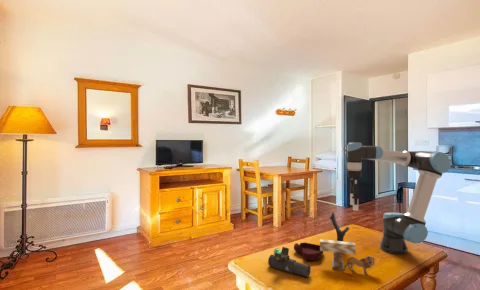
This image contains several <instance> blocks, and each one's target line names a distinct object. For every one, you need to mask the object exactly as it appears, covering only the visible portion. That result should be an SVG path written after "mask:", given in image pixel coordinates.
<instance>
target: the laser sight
mask: <svg viewBox="0 0 480 290" xmlns="http://www.w3.org/2000/svg"><path fill="white" fill-rule="evenodd" d="M289 250H290V248H289V247H284V246H282V248H281V250H280V251H281V253H280V254H279V253H274V254H270V255H269V257H268V261H267V265H268V266H269V267H272V268H273V269H276V270H279V271H283V272H286V273H289V274H296V275H299V276H302V277H304V278H305V277H306V278H309V277H310V274H311V270H312V269H311V265H308V264H305V263H302V262H298V261H297V260H295V259H292V258H290V255H289Z"/></svg>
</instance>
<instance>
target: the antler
mask: <svg viewBox="0 0 480 290" xmlns="http://www.w3.org/2000/svg"><path fill="white" fill-rule="evenodd" d="M329 219H330V221H331V222H332V225H333V227H334V229H335V232H336V241H344V236H345V235H346V233H347V232H348V231H349V230H350V227H348V226H346V228H345V229H343V230H341V228H340V226H339V224H338V222H337V219H336V215H335V212H334V211H332V212H331V215H330V216H329Z"/></svg>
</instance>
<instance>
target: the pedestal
mask: <svg viewBox="0 0 480 290" xmlns="http://www.w3.org/2000/svg"><path fill="white" fill-rule="evenodd" d="M331 269H332V270H339V271H345V265H344V261H343V253H336V252H333V259H331Z"/></svg>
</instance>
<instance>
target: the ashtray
mask: <svg viewBox="0 0 480 290" xmlns="http://www.w3.org/2000/svg"><path fill="white" fill-rule="evenodd" d="M293 250H294V251H295V252H296V253H297V254H300V255H301V256H302V257H303V259H305V260H306V261H307V262H312V261H316V260H319V259H320V258H321V257H322V256H323V255H324V251H320V244H314V243H310V242H300V243H297V242H296V243H294V245H293Z"/></svg>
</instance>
